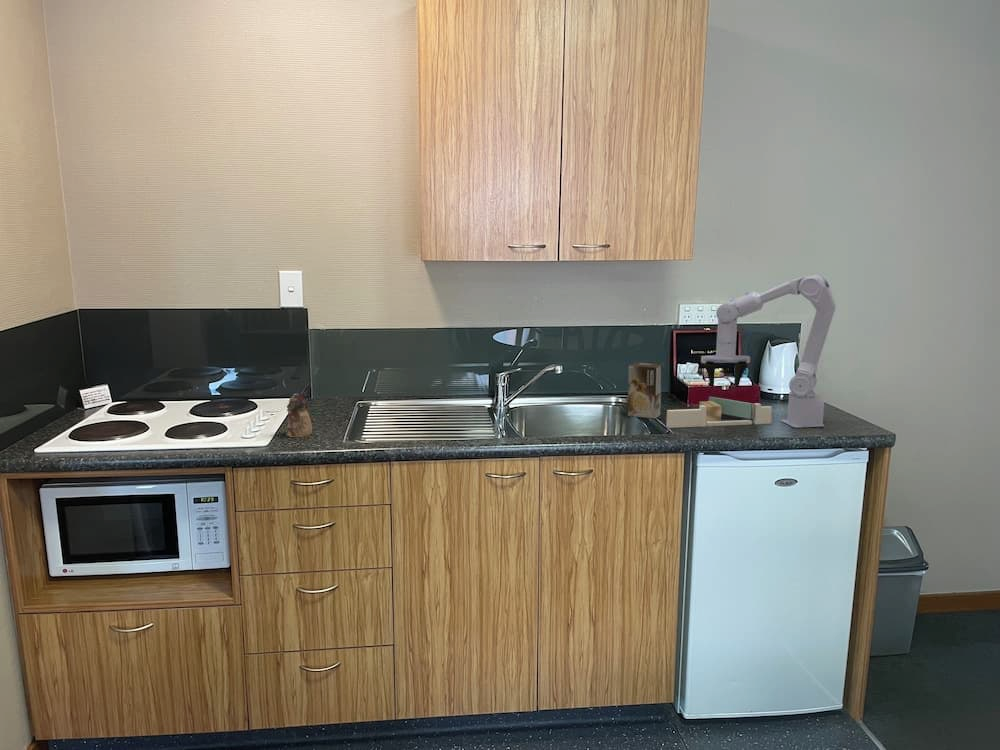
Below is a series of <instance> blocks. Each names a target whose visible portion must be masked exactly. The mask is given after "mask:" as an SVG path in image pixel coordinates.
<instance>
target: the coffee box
mask: <svg viewBox="0 0 1000 750" xmlns="http://www.w3.org/2000/svg"><path fill="white" fill-rule="evenodd" d="M662 365H663V364H658V363H648V362H645V363H644V362H632V363H630V364H629V365H628V382H627V389H628V390H627V392H628V393H627V416H628V417H637V418H647V419H657V418H658V417H660V416H661V414H662V413H661V409H662V408H661V400H662V399H661V398H662V369H663V368H662Z"/></svg>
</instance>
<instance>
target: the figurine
mask: <svg viewBox="0 0 1000 750" xmlns="http://www.w3.org/2000/svg"><path fill="white" fill-rule="evenodd" d="M307 396H308V394H307V393H306V392H303V393H302V395H300V394H299V393H294V394H292V396H291V397H290V398H289V400H288V404H287V406H286V409H287V411H286V412H287V413H288V420H287V427H286V437H287V436H289V438H291V437H302V438H305V437H304V436H306V437H308V436H307V435H309V436H311V435H312V434H311V433H313V425H312V420H311V416H310V414H309V412H308V410H309V402H308V400H306V399H305V398H306V397H307ZM303 404H305V407H303ZM310 434H311V435H310Z"/></svg>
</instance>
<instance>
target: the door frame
mask: <svg viewBox="0 0 1000 750" xmlns="http://www.w3.org/2000/svg"><path fill="white" fill-rule="evenodd" d="M753 404H755V414H754V419H741V420H740V419H739V420H721V421H711V422H706V406H704V405H699V404H698V405H699V406H698V407H699V408H691V409H690V408H688V409H667V410H666V426H667V427H666V428H668V429H673V428H698V427H699V428H700V427H718V426H719V427H721V426H741V425H742V426H746V425H747V426H749V425H768V424H769V425H771V424H772V415H773V407H772V406H770V405H767V406H766V405H764V406H763V405H762V403H759V402H758V403H757V402H755V403H753Z"/></svg>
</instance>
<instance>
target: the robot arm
mask: <svg viewBox="0 0 1000 750" xmlns="http://www.w3.org/2000/svg"><path fill="white" fill-rule="evenodd" d="M786 295H795V296H798V295H799V296H800V295H802V296H803V298H805V299H806V300H808V301H809V302H810V303H811V304H812V305H813V308H814V309H815V310H816V311H815V314H814V318H813V321H812V325H811V328H810V331H809V333H808V337H807V340H806V343H805V347H804V350H803V354H802V357H801V360H800V363H799V366H798V367H797V370H796V373H795V375H793V377H792V378H791V379H790V381H789V383H788V387H789V390H790V391H789V393H788V406H787V407H788V408H787V419H781V422H782V423H784V424H787V426H790V427H792V428H797V429H798V428H817V427H819V428H820V427H825V424H824V414H825V413H824V412H825V401H824V398H823V397H822V396H821V395H820V394H816V393H815V391H814V388H815V387H816V385H817V370H818V365H819V361H820V359H821V355H822V352H823V349H824V346H825V342H826V339H827V336H828V333H829V331H830V327H831V324H832V321H833V317H834V314H835V311H836V301H835V299H834V296H833V292H832V290H831V285H830V283H829V282H828V280H827V279H826V278H825V277H824V276H823V275H821V274H819V273H813V274H810V275H807V276H803V277H798V278H794V279H791V280H788V281H785V282H784V283H781V284H778V285H777V286H775V287H773V288H771V289H768V290H766V291H763V292H761V293H759V292H756V291H747V292H745V293H744V295H742V296H740V297H737V298H735V299H734V298H731V299H729V301H730V302H725V303H722V304H721V305H719V306H718V308H717V309H716V312H715V314H716V318H717V319H718V320H717V329H716V348H715V349H716V350H715V354H712V355H701V356H700V357H701V358H700V363H701V364H703V366H704V368H705V370H706V373H707V377H708V382H709V386H710V387H715V374H716V373H715V371H716V367H717V366H716V365H715V363H716V364H722V363H723V364H725V363H729V364H730V363H733V364H734V383H733V384H734V386H735V387H739V386H740V382H741V380H742V379H741V378H742V376H743V374H744V372H745V371H746V370H747V368H748V364H750V362H751V357H750V356H749V355H739V354H738V355H736V350H737V335H738V334H737V333H738V326H737V323H738V318H743V317H746V316H747V315H750V314H753V313H755V312H759V311H760V310H762V308H763V306H764V304H766V303H768V302H770V301H773V300H776V299H779V298H781V297H783V296H786Z"/></svg>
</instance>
